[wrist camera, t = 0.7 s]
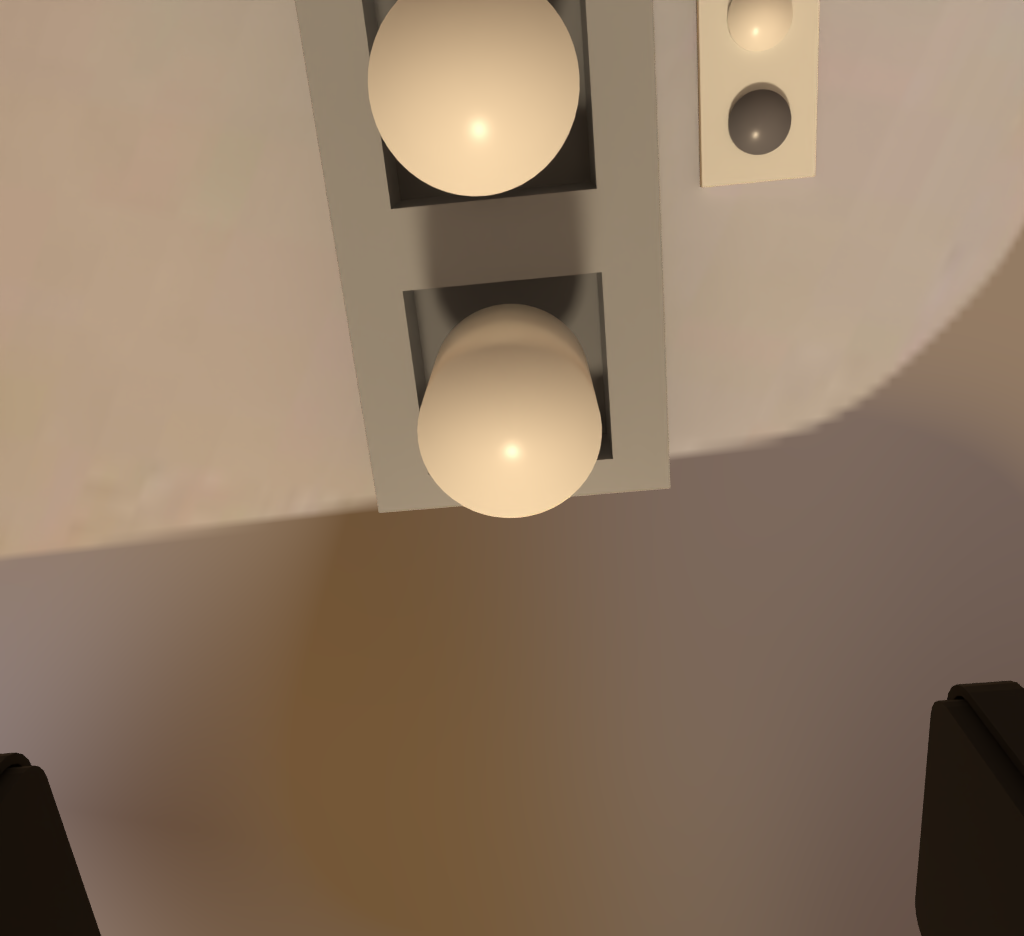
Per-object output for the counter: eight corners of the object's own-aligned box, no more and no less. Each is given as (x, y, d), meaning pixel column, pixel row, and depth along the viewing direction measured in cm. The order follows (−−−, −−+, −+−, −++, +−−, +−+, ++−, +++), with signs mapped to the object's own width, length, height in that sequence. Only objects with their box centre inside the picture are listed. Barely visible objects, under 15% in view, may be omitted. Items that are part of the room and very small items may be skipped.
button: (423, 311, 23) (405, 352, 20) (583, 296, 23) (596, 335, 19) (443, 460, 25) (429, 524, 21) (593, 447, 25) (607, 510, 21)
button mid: (382, -1, 21) (351, -21, 17) (562, -20, 20) (572, -45, 17) (407, 186, 22) (384, 205, 18) (575, 170, 22) (586, 185, 18)
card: (693, -161, 22) (696, -166, 22) (819, -175, 22) (825, -181, 22) (699, 186, 25) (703, 188, 25) (811, 175, 25) (817, 177, 25)
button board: (256, -403, 21) (216, -480, 18) (618, -449, 20) (633, -536, 17) (393, 471, 28) (378, 512, 26) (655, 449, 28) (670, 488, 25)
